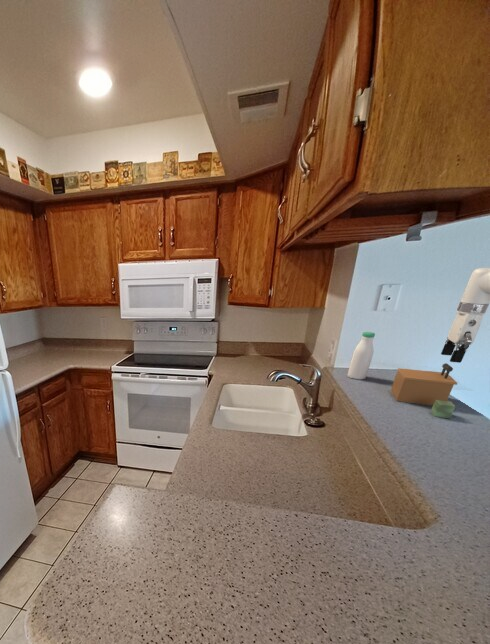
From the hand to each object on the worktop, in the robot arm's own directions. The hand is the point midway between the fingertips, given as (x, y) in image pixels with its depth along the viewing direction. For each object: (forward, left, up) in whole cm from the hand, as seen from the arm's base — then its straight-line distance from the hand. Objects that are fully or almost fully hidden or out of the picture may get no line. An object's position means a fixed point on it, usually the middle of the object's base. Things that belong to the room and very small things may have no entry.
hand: (450, 358), depth 119 cm
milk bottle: (+25, -20, -17) cm, 36 cm away
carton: (+6, 0, -16) cm, 17 cm away
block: (+2, +15, -16) cm, 22 cm away
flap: (+5, 0, -8) cm, 9 cm away
